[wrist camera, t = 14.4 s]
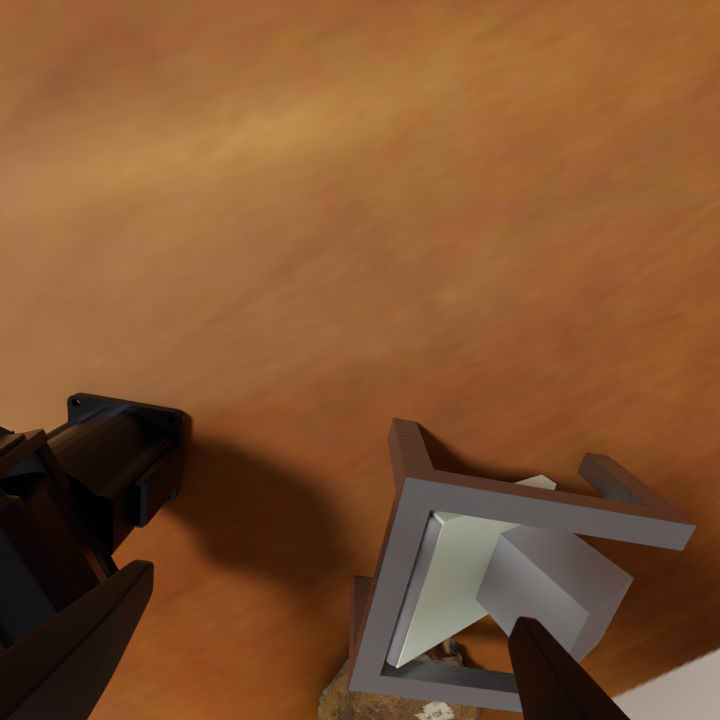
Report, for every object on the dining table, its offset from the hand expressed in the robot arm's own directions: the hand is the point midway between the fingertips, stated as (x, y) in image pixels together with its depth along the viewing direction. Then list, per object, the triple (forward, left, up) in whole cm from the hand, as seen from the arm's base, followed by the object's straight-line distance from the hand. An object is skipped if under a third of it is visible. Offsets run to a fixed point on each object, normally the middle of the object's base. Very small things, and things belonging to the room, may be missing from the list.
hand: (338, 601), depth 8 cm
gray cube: (+12, -8, -11) cm, 18 cm away
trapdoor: (+9, -8, -10) cm, 16 cm away
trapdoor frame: (+10, -8, -13) cm, 18 cm away
